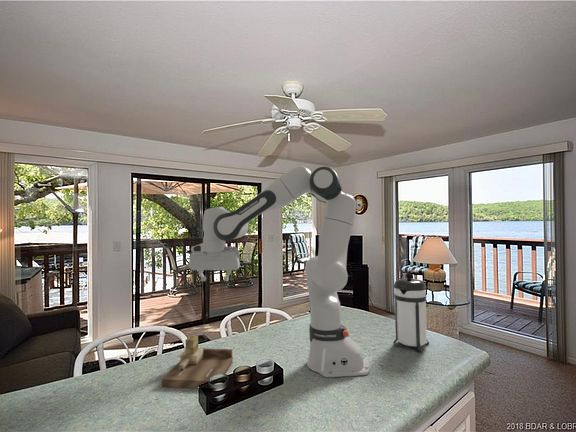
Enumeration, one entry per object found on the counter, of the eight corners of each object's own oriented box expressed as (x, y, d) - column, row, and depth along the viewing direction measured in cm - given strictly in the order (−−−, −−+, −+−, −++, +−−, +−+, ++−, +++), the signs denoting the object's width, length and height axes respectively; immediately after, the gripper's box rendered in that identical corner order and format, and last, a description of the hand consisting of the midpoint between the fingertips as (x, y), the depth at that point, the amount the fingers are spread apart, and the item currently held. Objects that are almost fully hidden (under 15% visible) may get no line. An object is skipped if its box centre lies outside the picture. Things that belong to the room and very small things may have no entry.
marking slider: (203, 356, 111) (203, 335, 111) (189, 372, 100) (189, 347, 100) (187, 356, 112) (187, 334, 112) (172, 371, 100) (172, 347, 101)
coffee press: (440, 352, 117) (438, 276, 118) (399, 353, 118) (397, 276, 118) (421, 335, 135) (419, 269, 135) (386, 336, 135) (384, 269, 136)
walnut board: (232, 362, 112) (232, 349, 112) (215, 389, 94) (215, 373, 94) (186, 361, 114) (186, 347, 114) (161, 387, 96) (161, 371, 96)
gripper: (241, 245, 123) (242, 279, 123) (193, 246, 125) (194, 279, 125) (237, 247, 117) (237, 282, 116) (187, 247, 119) (187, 282, 119)
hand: (214, 281), depth 121 cm, fingers open, 8 cm apart
